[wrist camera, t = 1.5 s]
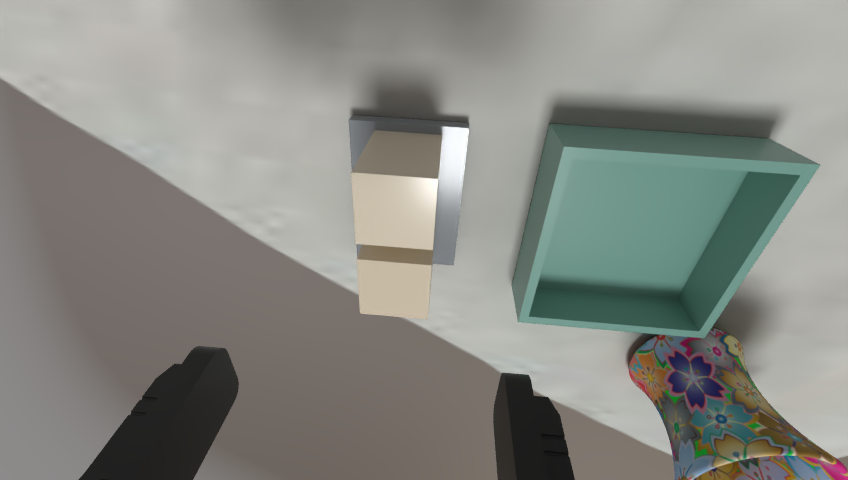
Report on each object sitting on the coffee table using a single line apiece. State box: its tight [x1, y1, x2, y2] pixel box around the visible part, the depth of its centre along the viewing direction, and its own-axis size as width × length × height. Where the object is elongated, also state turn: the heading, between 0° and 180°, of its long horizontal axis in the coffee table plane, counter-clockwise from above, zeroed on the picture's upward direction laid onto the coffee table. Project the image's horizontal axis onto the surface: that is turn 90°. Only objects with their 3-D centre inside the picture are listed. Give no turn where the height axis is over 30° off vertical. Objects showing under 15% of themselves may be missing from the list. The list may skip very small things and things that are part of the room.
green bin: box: [512, 123, 820, 338], centre depth 24 cm, size 13×13×4 cm
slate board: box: [349, 115, 469, 265], centre depth 26 cm, size 10×7×1 cm
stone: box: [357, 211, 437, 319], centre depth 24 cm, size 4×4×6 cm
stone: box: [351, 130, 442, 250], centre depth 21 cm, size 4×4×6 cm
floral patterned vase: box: [629, 328, 848, 480], centre depth 29 cm, size 12×9×11 cm
